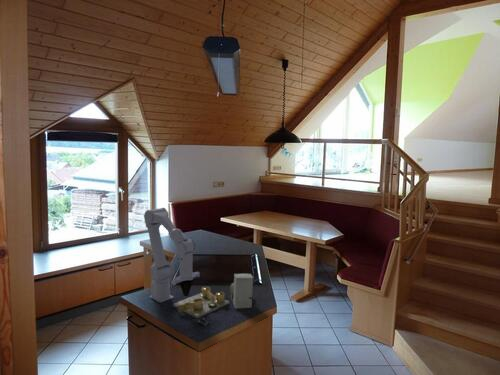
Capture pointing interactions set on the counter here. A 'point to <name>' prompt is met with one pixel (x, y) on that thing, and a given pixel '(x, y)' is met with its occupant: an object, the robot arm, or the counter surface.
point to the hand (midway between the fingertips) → (185, 295)
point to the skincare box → (243, 291)
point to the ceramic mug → (232, 291)
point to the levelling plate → (205, 304)
